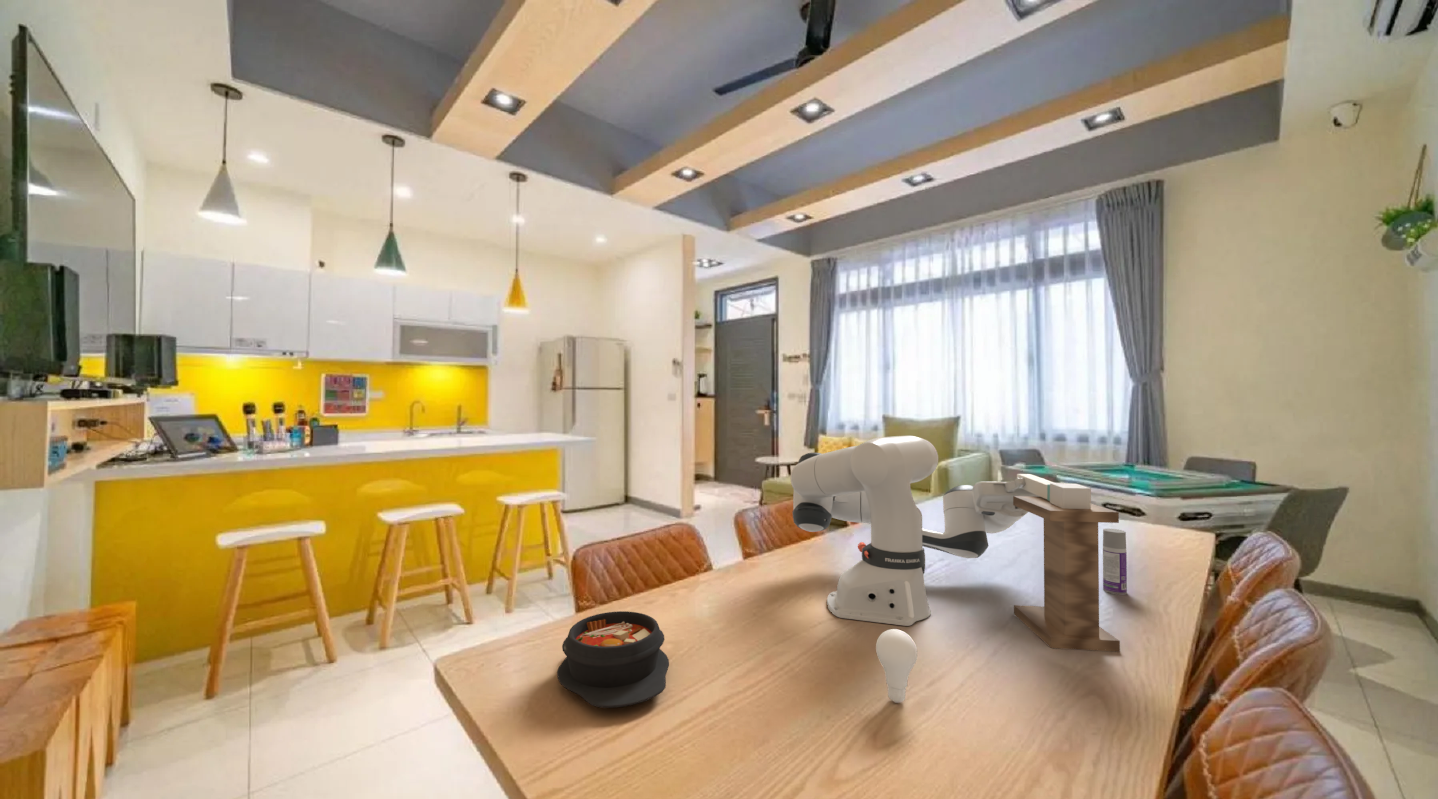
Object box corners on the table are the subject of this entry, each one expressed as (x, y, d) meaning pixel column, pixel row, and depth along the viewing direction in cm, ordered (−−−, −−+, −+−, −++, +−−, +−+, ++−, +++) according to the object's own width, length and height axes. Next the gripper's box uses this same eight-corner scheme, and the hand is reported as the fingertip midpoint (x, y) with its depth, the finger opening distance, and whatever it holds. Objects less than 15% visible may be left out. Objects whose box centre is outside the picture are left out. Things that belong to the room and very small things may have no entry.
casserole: (548, 656, 96) (548, 610, 96) (645, 637, 104) (645, 595, 104) (569, 733, 73) (569, 673, 73) (692, 702, 81) (692, 648, 81)
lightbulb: (919, 696, 82) (918, 626, 83) (916, 717, 77) (915, 642, 77) (879, 687, 85) (878, 619, 85) (873, 707, 79) (873, 634, 80)
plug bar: (1062, 508, 101) (1063, 487, 101) (1012, 486, 123) (1012, 469, 123) (1090, 509, 101) (1090, 488, 100) (1034, 486, 123) (1034, 469, 123)
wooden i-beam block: (1051, 648, 99) (1050, 510, 99) (1014, 614, 115) (1013, 496, 115) (1119, 651, 97) (1118, 512, 98) (1072, 616, 113) (1071, 497, 114)
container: (1118, 588, 131) (1118, 528, 131) (1131, 595, 126) (1130, 533, 126) (1098, 587, 131) (1098, 528, 132) (1110, 594, 127) (1110, 532, 127)
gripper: (1057, 515, 128) (1085, 495, 116) (969, 513, 130) (988, 493, 119) (1050, 490, 131) (1077, 469, 119) (965, 489, 134) (982, 467, 122)
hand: (1032, 481), depth 119 cm, fingers closed on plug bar, 3 cm apart
